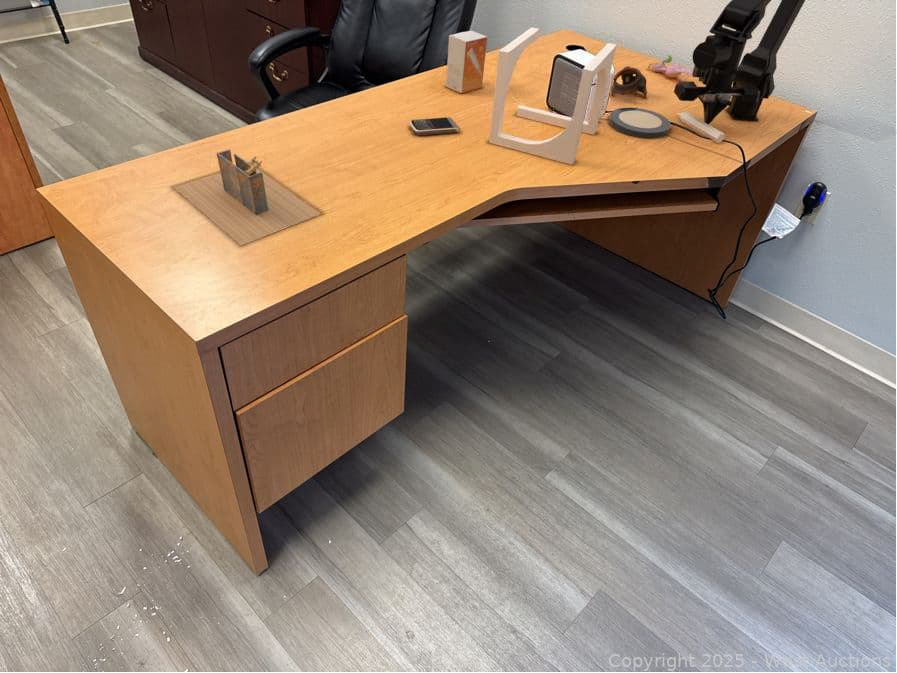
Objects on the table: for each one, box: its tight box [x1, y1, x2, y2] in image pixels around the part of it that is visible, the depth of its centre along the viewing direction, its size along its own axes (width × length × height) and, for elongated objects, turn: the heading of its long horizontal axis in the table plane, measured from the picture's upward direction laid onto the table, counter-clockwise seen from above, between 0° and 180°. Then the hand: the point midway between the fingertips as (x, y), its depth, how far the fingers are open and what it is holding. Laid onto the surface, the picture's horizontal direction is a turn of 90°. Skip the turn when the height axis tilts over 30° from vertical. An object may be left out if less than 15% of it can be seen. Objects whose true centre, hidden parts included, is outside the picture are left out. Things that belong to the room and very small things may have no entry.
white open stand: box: [488, 26, 618, 166], centre depth 135 cm, size 20×20×20 cm
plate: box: [608, 107, 672, 139], centre depth 150 cm, size 15×15×2 cm
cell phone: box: [409, 116, 460, 136], centre depth 140 cm, size 6×11×1 cm, turn 108°
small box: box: [445, 29, 488, 94], centre depth 157 cm, size 8×6×13 cm
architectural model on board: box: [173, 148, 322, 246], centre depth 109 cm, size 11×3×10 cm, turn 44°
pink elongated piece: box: [647, 54, 693, 79], centre depth 176 cm, size 6×6×15 cm
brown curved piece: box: [610, 65, 648, 99], centre depth 163 cm, size 12×10×8 cm
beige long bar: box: [676, 111, 725, 143], centre depth 150 cm, size 3×2×16 cm
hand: (705, 126), depth 150 cm, fingers closed
